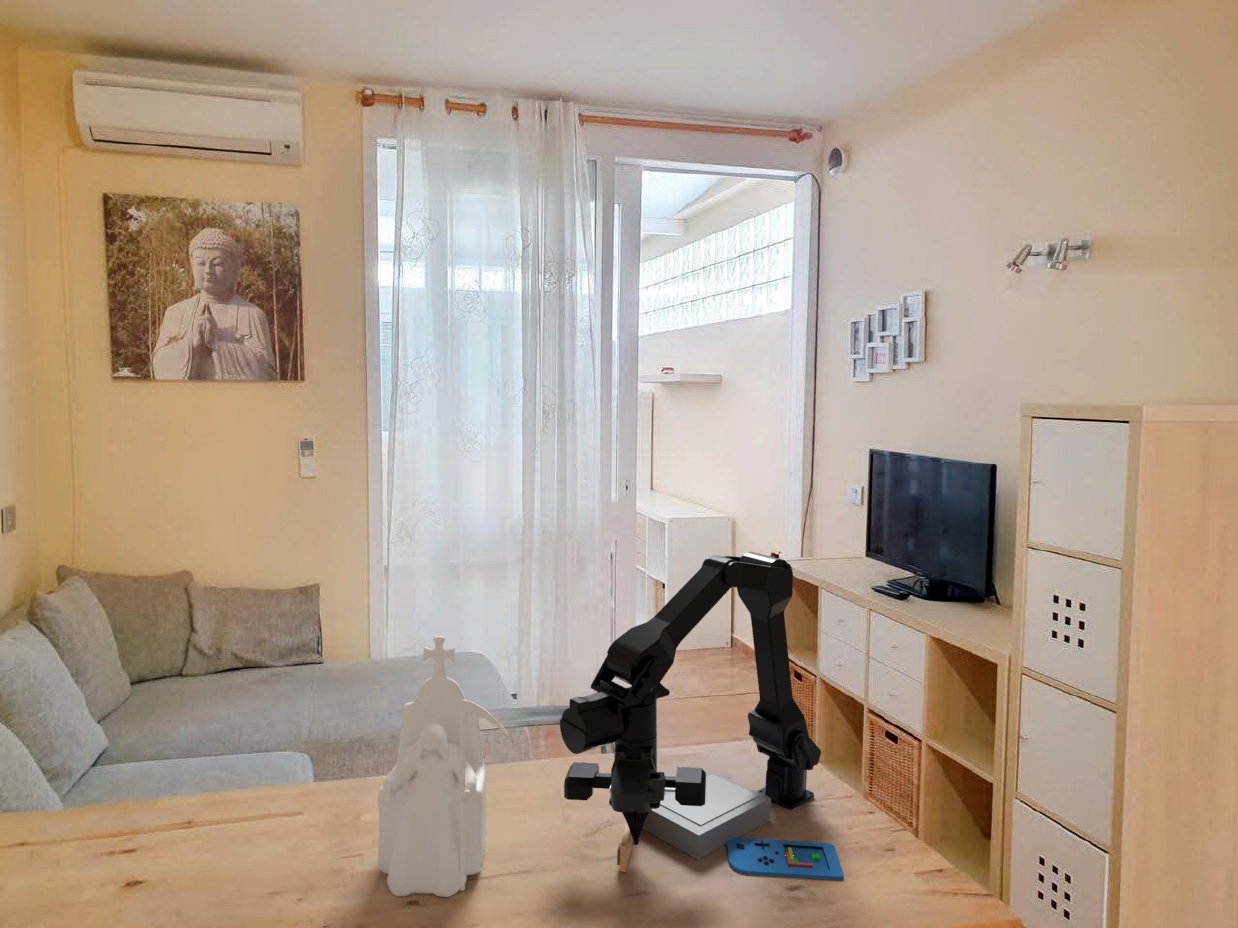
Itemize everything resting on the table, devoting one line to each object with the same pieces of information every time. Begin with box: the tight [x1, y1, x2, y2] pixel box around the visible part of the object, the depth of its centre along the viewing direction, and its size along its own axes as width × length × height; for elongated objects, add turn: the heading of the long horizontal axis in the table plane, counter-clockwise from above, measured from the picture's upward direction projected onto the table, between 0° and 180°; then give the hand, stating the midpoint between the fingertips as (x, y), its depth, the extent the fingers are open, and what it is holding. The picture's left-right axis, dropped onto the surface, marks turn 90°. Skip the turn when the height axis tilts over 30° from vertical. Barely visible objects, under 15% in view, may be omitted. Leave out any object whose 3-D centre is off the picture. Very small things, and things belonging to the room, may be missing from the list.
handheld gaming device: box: [726, 837, 845, 881], centre depth 120 cm, size 8×1×15 cm
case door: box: [616, 822, 634, 873], centre depth 122 cm, size 1×12×4 cm, turn 172°
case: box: [642, 769, 772, 860], centre depth 129 cm, size 16×12×4 cm
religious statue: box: [377, 635, 509, 898], centre depth 114 cm, size 17×14×30 cm
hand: (636, 843), depth 119 cm, fingers closed
